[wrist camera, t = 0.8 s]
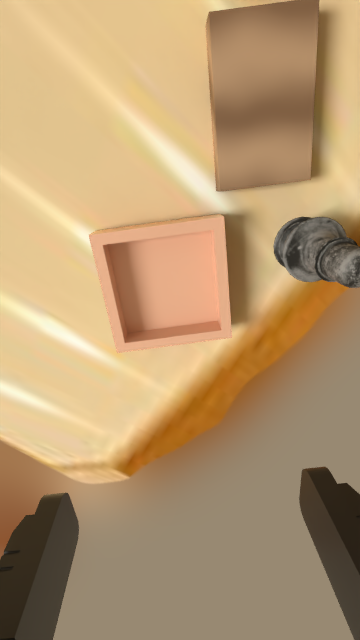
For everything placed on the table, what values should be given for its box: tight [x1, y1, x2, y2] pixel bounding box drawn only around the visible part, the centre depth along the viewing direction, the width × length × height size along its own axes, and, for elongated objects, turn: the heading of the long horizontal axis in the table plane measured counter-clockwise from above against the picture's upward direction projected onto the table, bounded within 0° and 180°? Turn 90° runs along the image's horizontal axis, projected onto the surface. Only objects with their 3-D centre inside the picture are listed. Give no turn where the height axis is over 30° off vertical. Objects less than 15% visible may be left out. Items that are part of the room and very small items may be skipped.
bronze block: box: [206, 0, 319, 191], centre depth 25 cm, size 12×8×2 cm, turn 7°
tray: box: [89, 214, 232, 353], centre depth 30 cm, size 12×12×3 cm
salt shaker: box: [274, 217, 360, 288], centre depth 25 cm, size 6×6×12 cm
